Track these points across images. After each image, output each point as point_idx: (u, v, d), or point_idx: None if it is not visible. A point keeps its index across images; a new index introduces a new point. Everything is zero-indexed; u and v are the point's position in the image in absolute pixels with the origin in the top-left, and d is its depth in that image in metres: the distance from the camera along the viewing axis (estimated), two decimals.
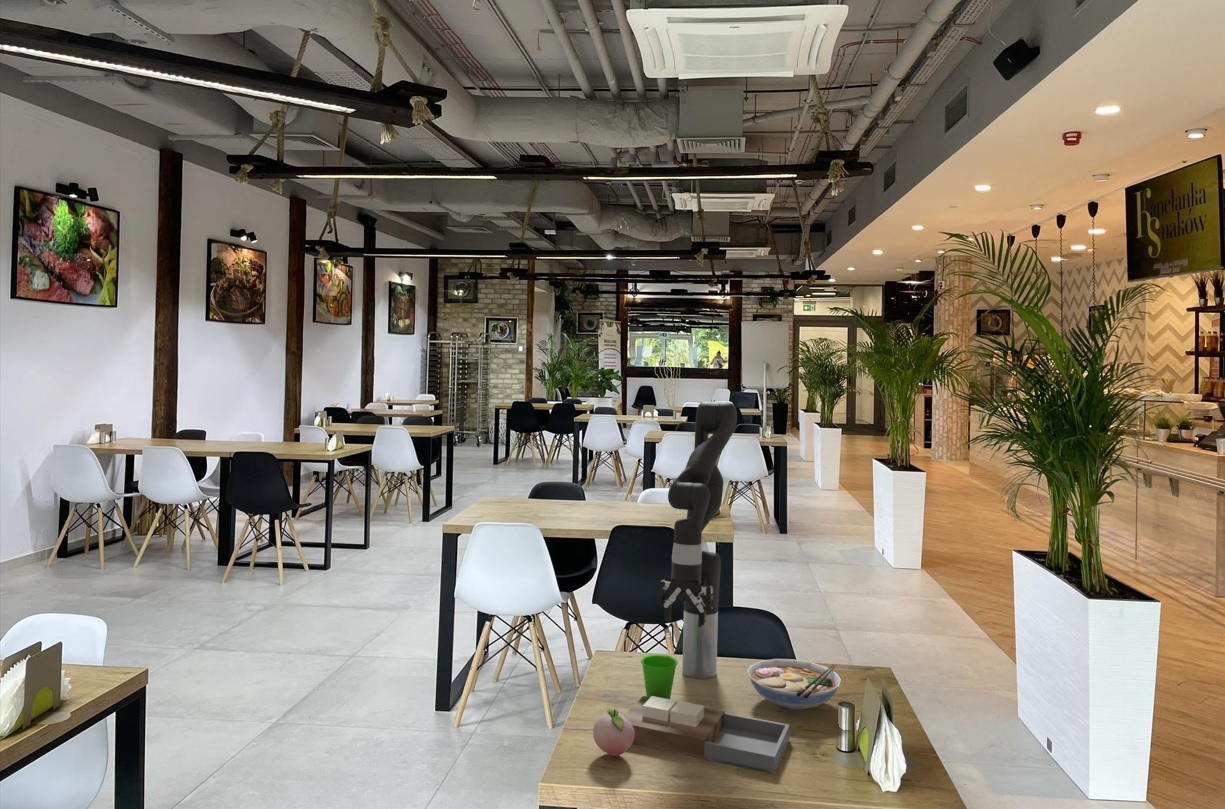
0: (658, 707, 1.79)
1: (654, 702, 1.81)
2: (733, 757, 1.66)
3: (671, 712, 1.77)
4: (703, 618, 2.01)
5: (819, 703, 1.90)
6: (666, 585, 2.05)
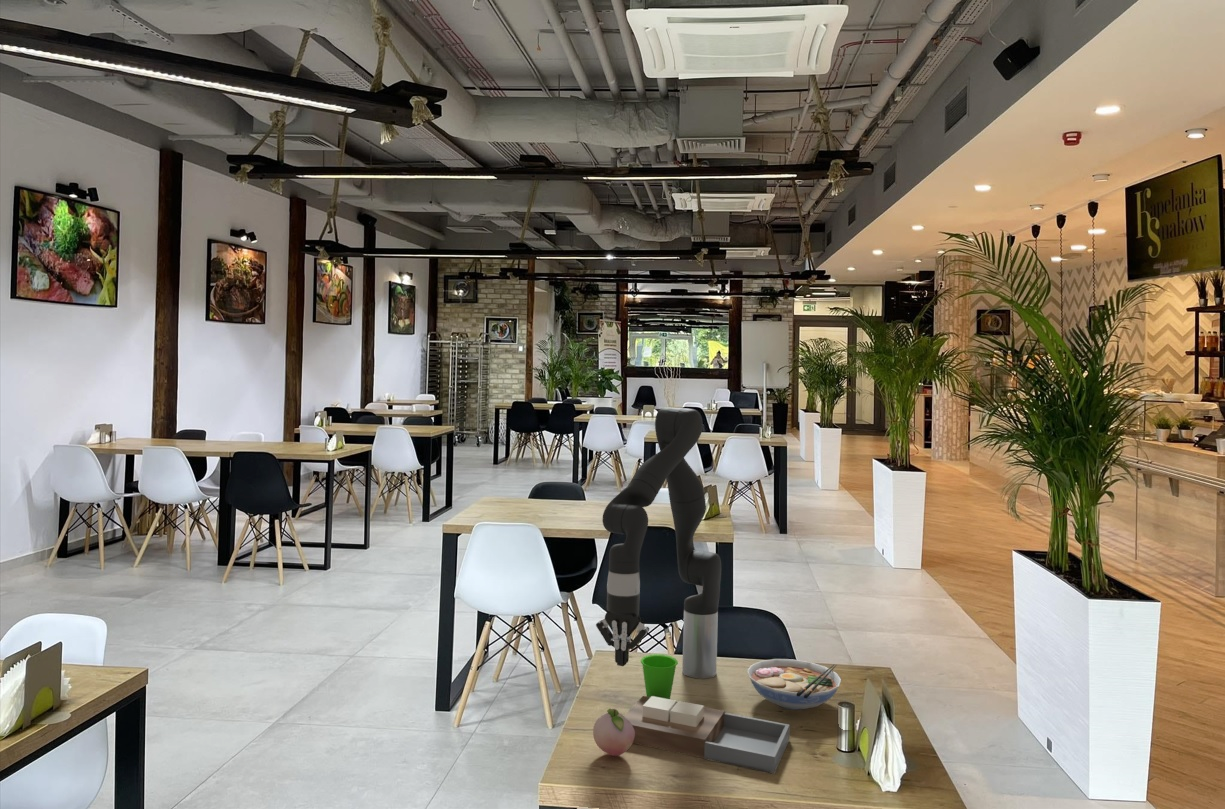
0: (658, 707, 1.79)
1: (654, 702, 1.81)
2: (733, 757, 1.66)
3: (671, 712, 1.77)
4: (625, 656, 1.83)
5: (819, 703, 1.90)
6: (604, 623, 1.85)
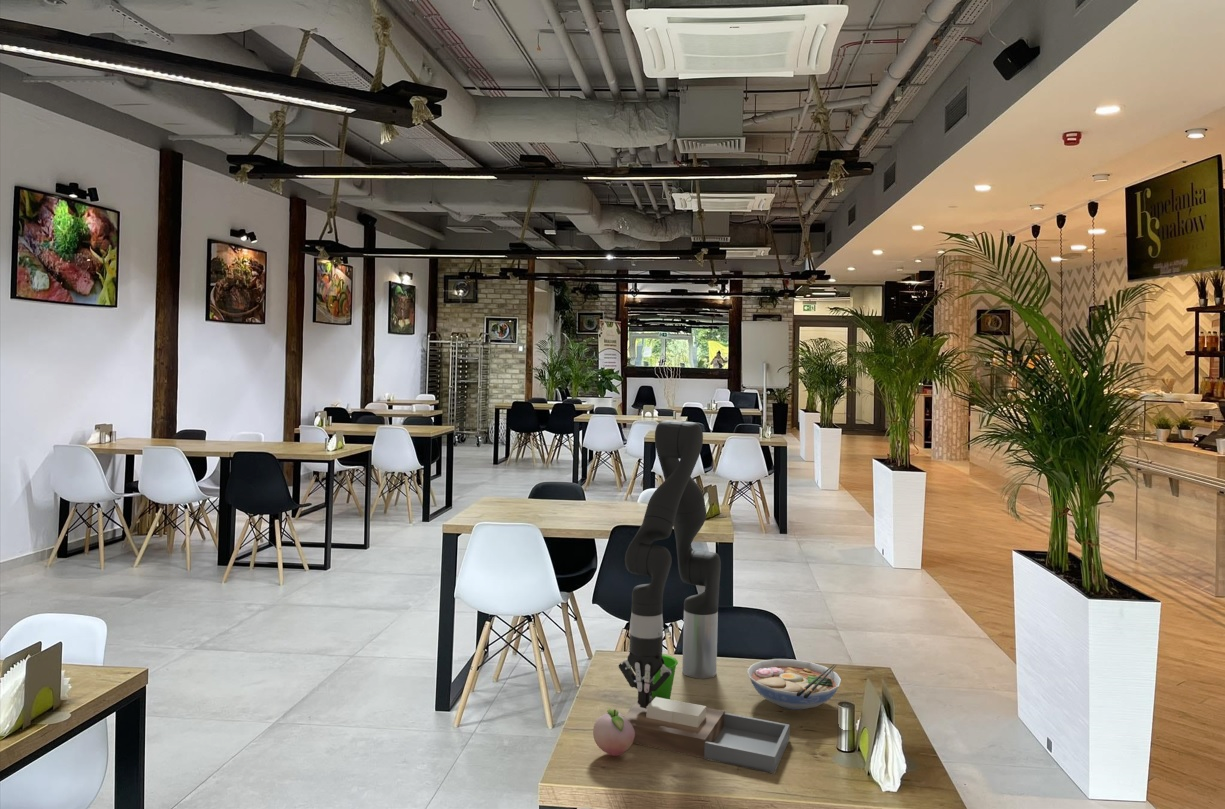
0: (662, 708, 1.78)
1: (658, 703, 1.81)
2: (733, 757, 1.66)
3: (673, 712, 1.77)
4: (648, 698, 1.81)
5: (819, 703, 1.90)
6: (627, 664, 1.83)
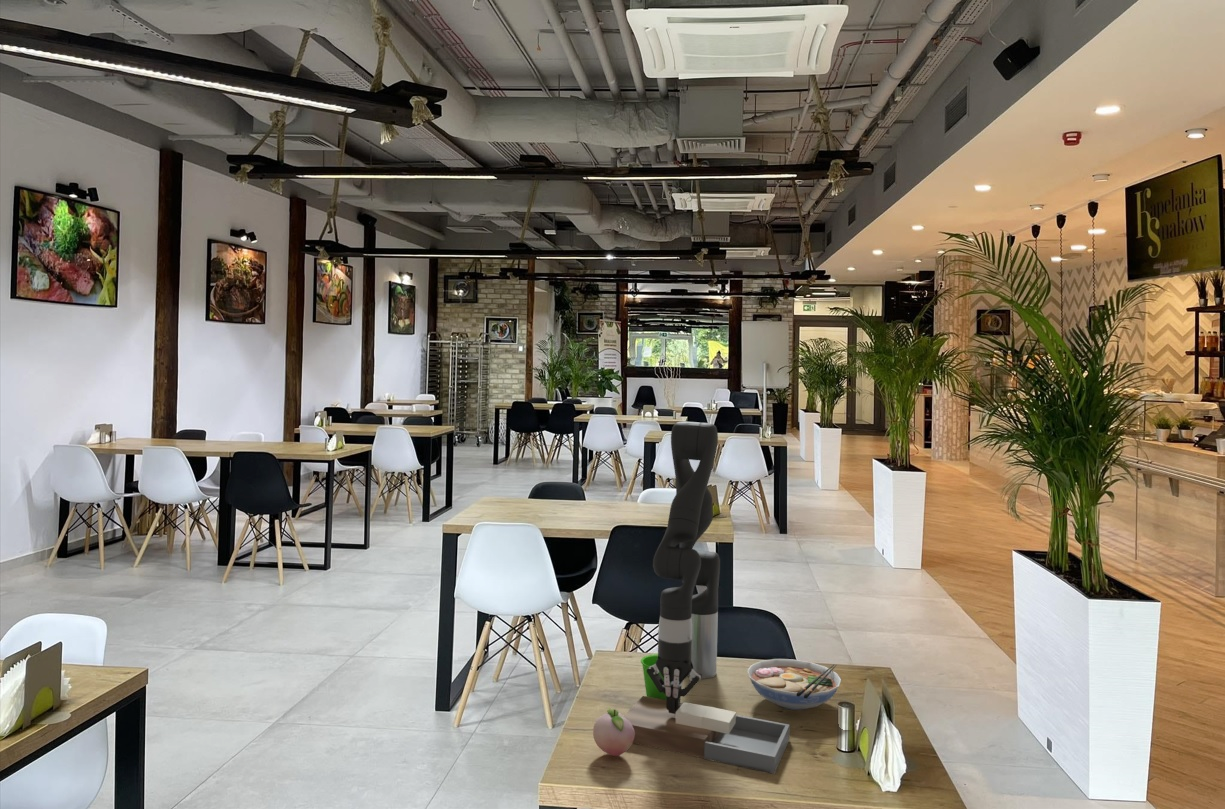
0: (692, 714, 1.75)
1: (686, 708, 1.78)
2: (733, 757, 1.66)
3: (703, 718, 1.74)
4: (677, 704, 1.78)
5: (819, 703, 1.90)
6: (655, 669, 1.81)
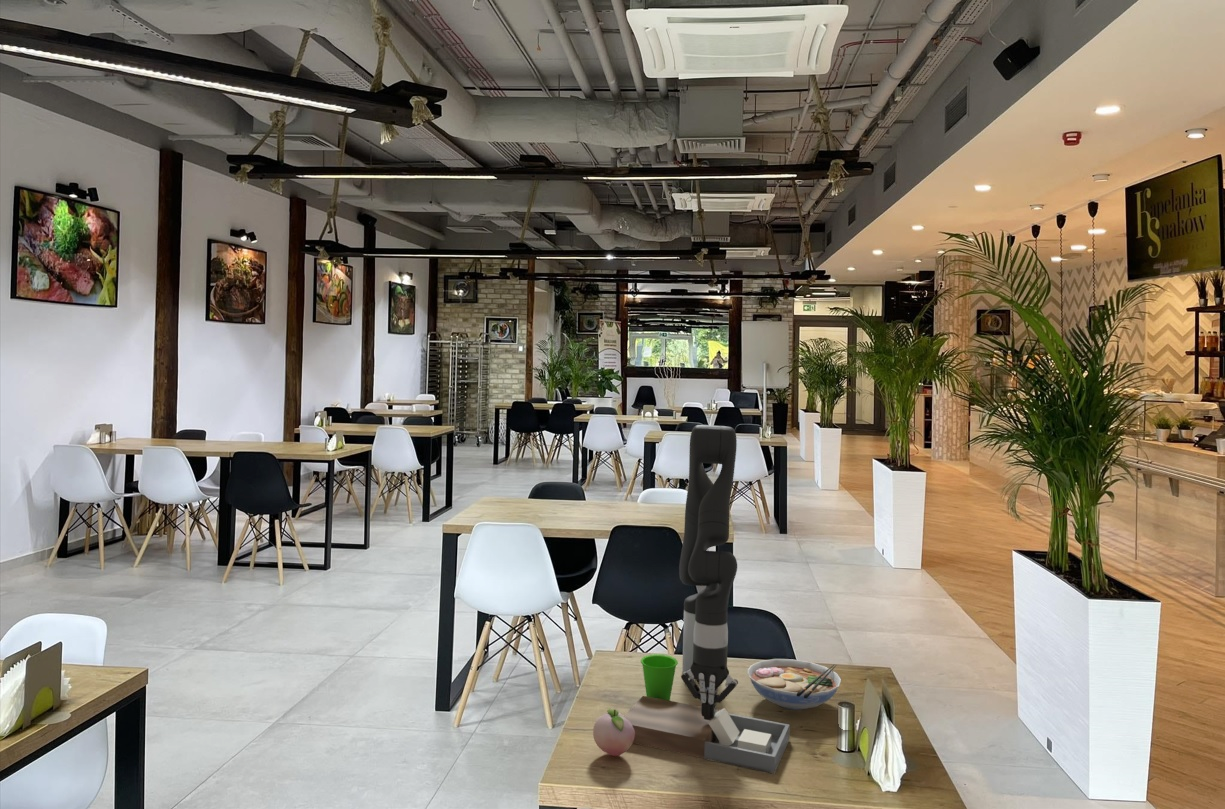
0: (727, 732, 1.73)
1: (725, 720, 1.75)
2: (733, 757, 1.66)
3: None
4: (713, 710, 1.75)
5: (819, 703, 1.90)
6: (689, 674, 1.77)
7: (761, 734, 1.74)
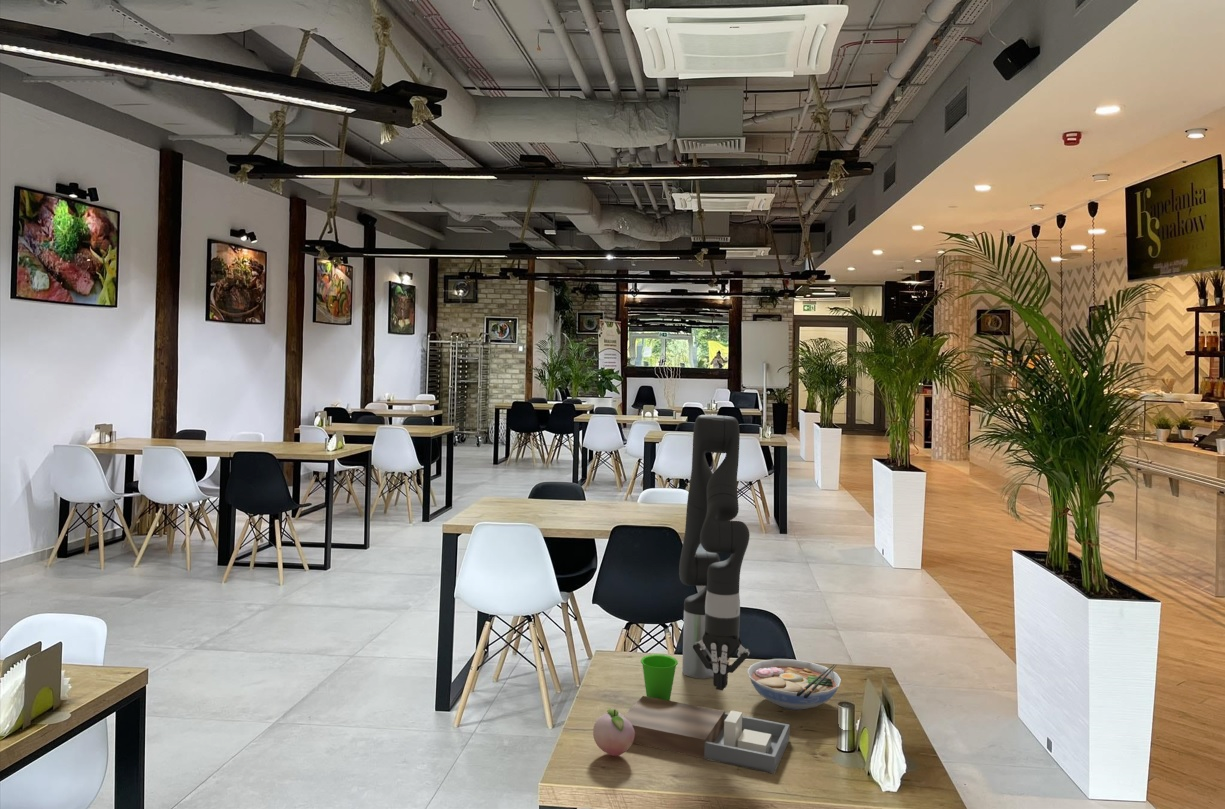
0: (735, 738, 1.72)
1: (738, 725, 1.74)
2: (733, 757, 1.66)
3: None
4: (725, 680, 1.74)
5: (819, 703, 1.90)
6: (701, 645, 1.76)
7: (761, 734, 1.74)
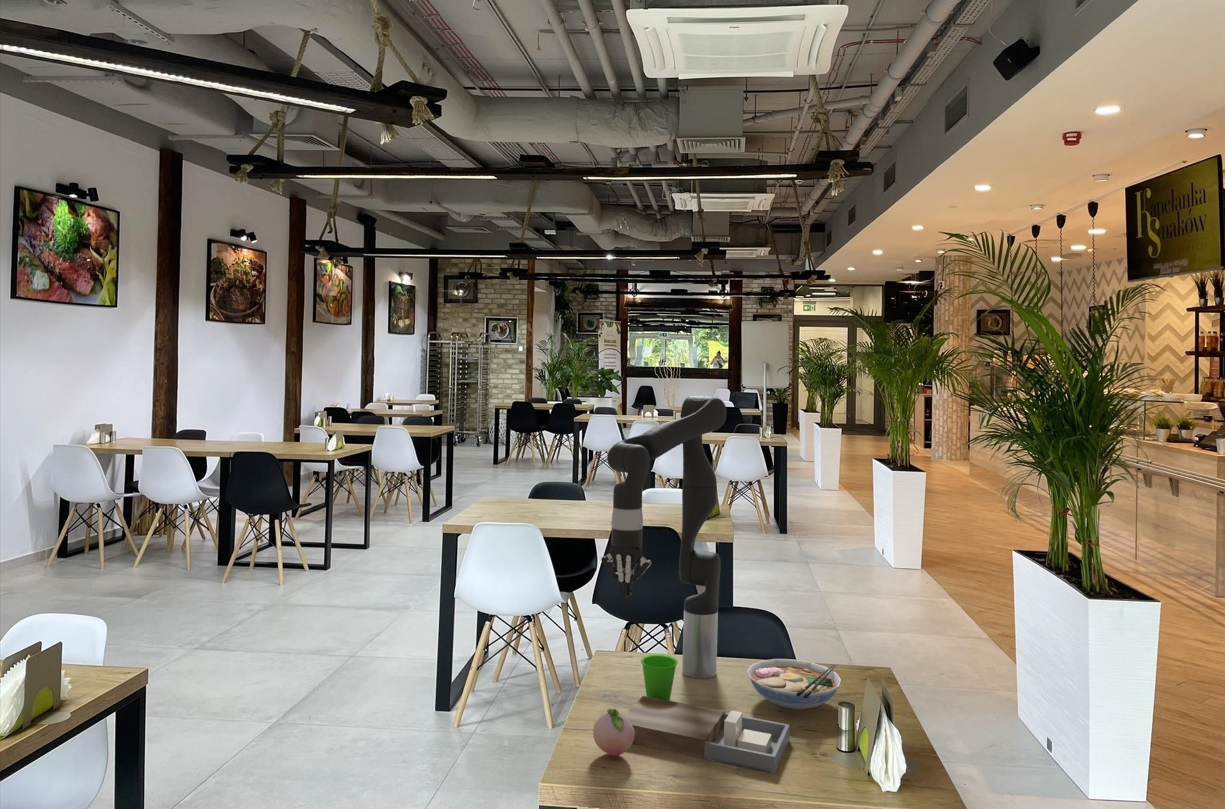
0: (736, 738, 1.72)
1: (738, 725, 1.74)
2: (733, 757, 1.66)
3: None
4: (629, 588, 1.93)
5: (819, 703, 1.90)
6: (609, 557, 1.95)
7: (761, 734, 1.74)
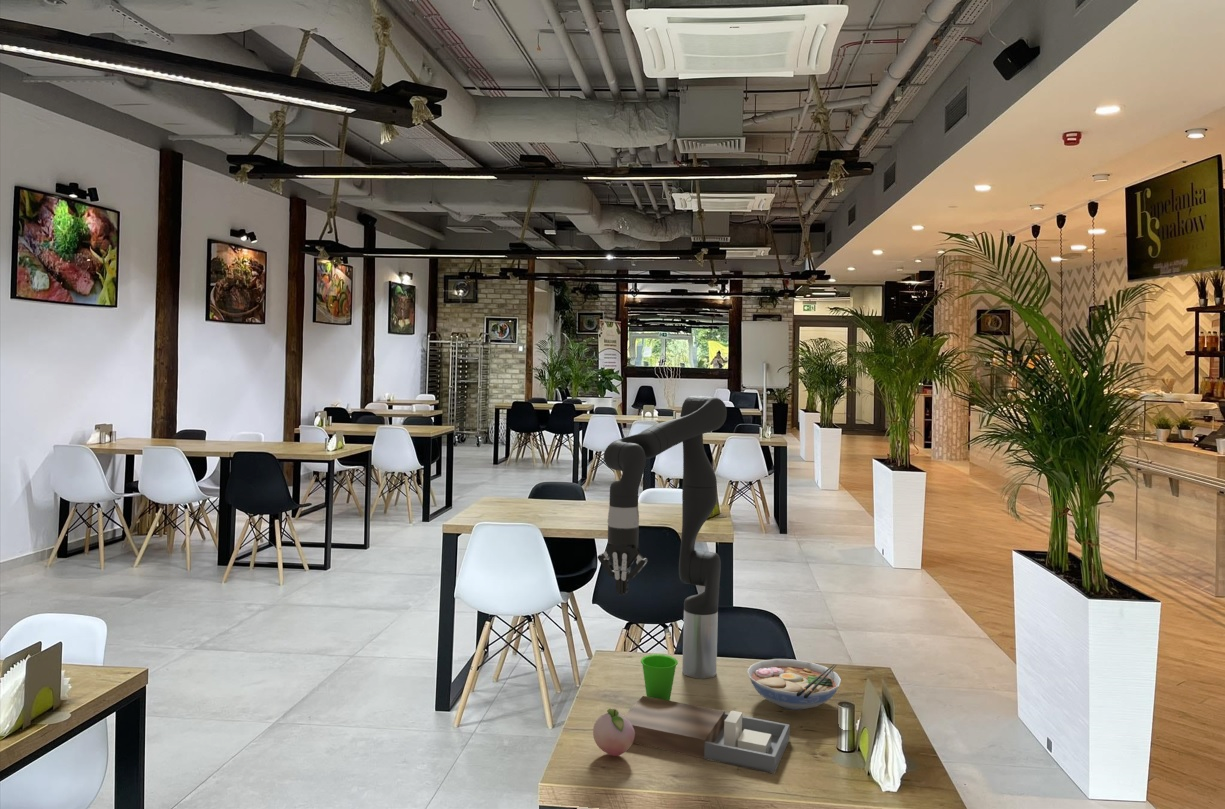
0: (736, 738, 1.72)
1: (738, 725, 1.74)
2: (733, 757, 1.66)
3: None
4: (625, 586, 1.94)
5: (819, 703, 1.90)
6: (605, 555, 1.96)
7: (761, 734, 1.74)
